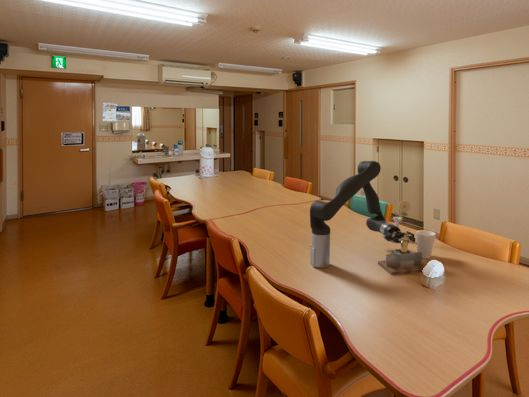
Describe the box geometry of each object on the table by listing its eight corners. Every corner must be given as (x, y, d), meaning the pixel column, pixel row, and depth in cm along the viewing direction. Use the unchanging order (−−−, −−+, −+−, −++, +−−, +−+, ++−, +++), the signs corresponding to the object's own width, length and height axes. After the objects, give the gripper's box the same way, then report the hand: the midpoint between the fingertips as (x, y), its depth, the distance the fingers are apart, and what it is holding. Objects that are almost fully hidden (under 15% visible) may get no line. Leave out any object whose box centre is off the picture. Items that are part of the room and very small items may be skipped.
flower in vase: (387, 242, 219) (390, 201, 214) (384, 236, 230) (386, 197, 225) (410, 243, 217) (413, 202, 212) (406, 237, 228) (409, 198, 223)
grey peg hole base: (391, 275, 174) (391, 272, 173) (377, 263, 187) (378, 261, 187) (430, 271, 177) (430, 268, 176) (413, 260, 190) (414, 258, 190)
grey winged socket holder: (389, 269, 177) (389, 255, 175) (382, 263, 183) (382, 250, 182) (425, 266, 180) (426, 252, 178) (417, 260, 186) (417, 247, 185)
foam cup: (436, 255, 197) (438, 232, 194) (430, 260, 190) (432, 236, 187) (418, 251, 203) (420, 229, 200) (411, 256, 196) (413, 233, 194)
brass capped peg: (401, 266, 180) (403, 239, 177) (397, 263, 183) (399, 237, 180) (408, 265, 180) (410, 238, 177) (404, 263, 184) (406, 236, 181)
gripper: (377, 225, 191) (393, 234, 176) (402, 223, 194) (420, 232, 178) (377, 238, 193) (392, 249, 177) (402, 236, 195) (419, 247, 179)
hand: (406, 240), depth 178 cm, fingers open, 8 cm apart
